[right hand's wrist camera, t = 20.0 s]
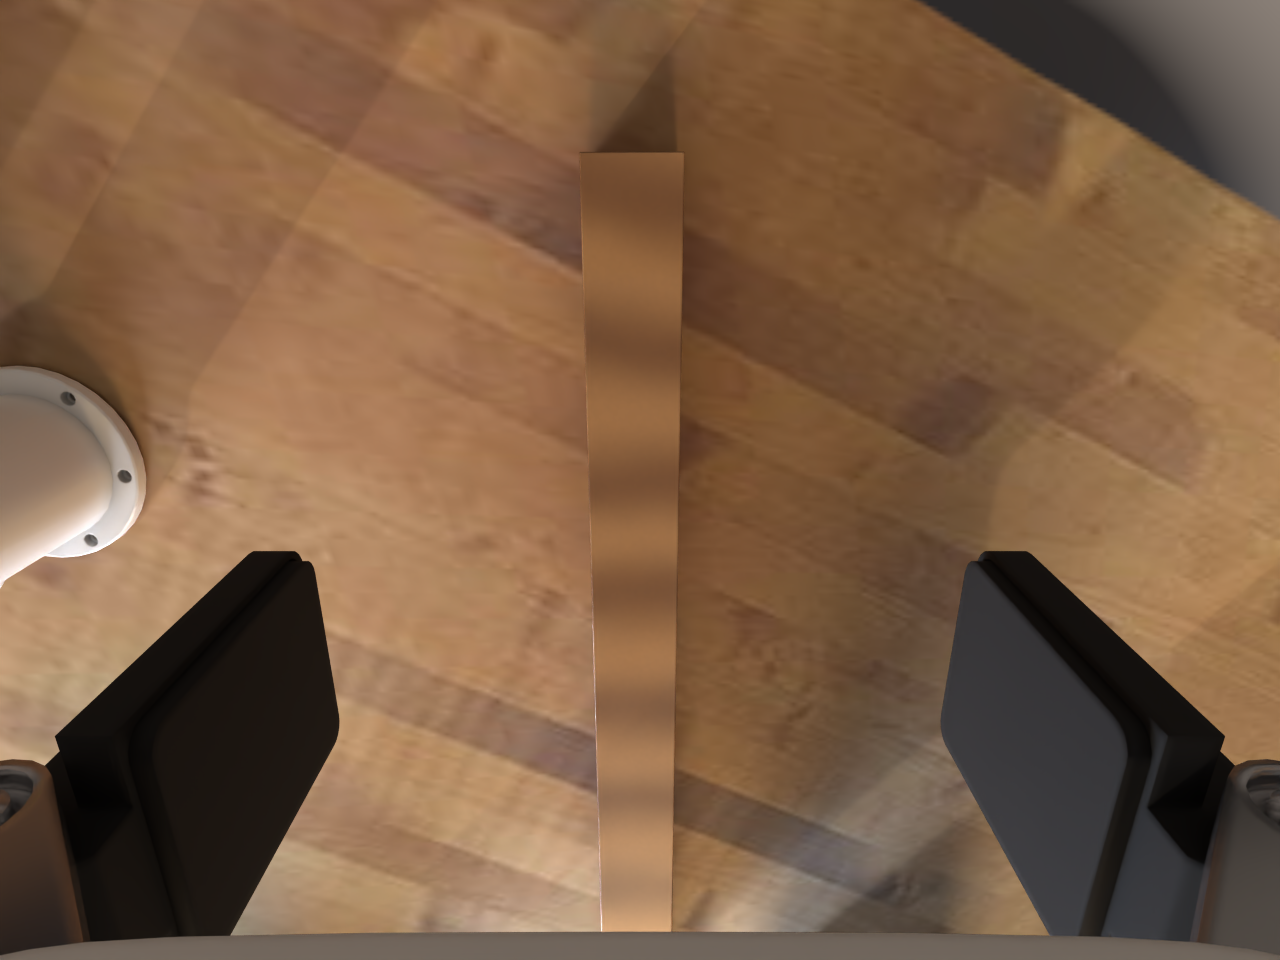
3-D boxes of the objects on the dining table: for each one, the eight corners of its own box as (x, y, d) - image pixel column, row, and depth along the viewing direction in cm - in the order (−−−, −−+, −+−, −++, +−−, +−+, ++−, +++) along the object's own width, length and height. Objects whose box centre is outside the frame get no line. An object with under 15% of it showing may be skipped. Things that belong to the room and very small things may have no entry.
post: (588, 157, 43) (579, 152, 36) (677, 156, 43) (684, 151, 36) (608, 964, 66) (604, 1053, 59) (666, 963, 66) (669, 1053, 59)
